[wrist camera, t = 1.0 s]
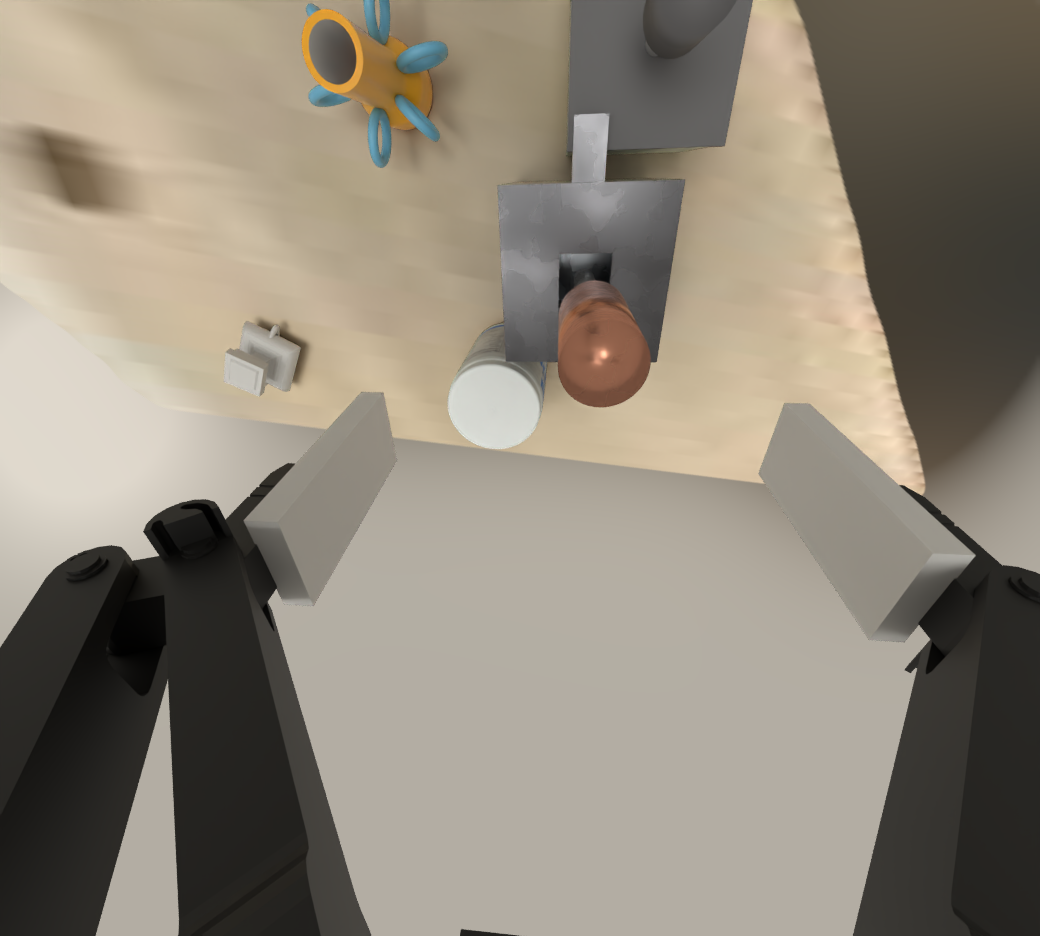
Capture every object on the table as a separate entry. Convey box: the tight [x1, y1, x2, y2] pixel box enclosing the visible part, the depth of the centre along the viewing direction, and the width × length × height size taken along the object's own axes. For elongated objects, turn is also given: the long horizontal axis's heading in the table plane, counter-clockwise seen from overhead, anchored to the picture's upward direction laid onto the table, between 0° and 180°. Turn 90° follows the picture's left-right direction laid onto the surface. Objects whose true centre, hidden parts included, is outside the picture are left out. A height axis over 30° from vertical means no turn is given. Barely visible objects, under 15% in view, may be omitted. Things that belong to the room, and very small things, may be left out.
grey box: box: [498, 113, 685, 362], centre depth 39 cm, size 17×13×16 cm
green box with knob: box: [566, 0, 753, 156], centre depth 29 cm, size 11×11×24 cm
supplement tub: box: [448, 323, 547, 449], centre depth 48 cm, size 10×10×15 cm
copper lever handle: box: [558, 269, 651, 407], centre depth 27 cm, size 4×4×19 cm
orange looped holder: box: [302, 0, 448, 168], centre depth 34 cm, size 12×10×15 cm
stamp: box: [224, 321, 301, 397], centre depth 53 cm, size 9×7×8 cm
